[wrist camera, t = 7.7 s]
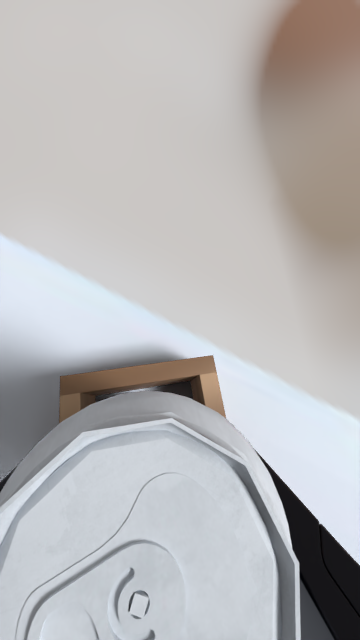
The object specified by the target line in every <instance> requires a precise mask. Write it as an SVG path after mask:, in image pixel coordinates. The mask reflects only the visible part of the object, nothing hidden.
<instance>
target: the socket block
mask: <svg viewBox="0 0 360 640" xmlns="http://www.w3.org/2000/svg"><path fill="white" fill-rule="evenodd" d="M188 381H190V383H191V389H192V395H193V400H195V401H197V402H199V403H201V404H203V405H205V406H207V407H209V408H211V409H212V410H214V411H216V412H218V413H219V414H221V415H222V416H223V417H225V418H226V415H225V411H224V406H223V401H222V396H221V391H220V387H219V382H218V377H217V372H216V367H215V363H214V358H213V355H212V356H204V357H197V358H190V359H183V360H175V361H168V362H161V363H154V364H146V365H139V366H132V367H125V368H117V369H110V370H103V371H96V372H88V373H81V374H74V375H67V376H60V410H59V424H60V423H61V422H62V421H64V420H65V419H67V418H69V417H70V416H72V415H74V414H75V413H77V412H79V411H80V410H82V409H84V408H86V407H87V406H89V405H91V404H93V403H96V399H95V396H97V395H103V394H110V393H116V392H123V391H129V390H136V389H142V388H149V387H155V386H162V385H168V384H175V383H181V382H188Z"/></svg>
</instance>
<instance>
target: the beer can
mask: <svg viewBox="0 0 360 640" xmlns="http://www.w3.org/2000/svg"><path fill="white" fill-rule="evenodd" d="M0 640H301V630H300V578H299V562H298V560H297V558H296V556H295V554H294V552H293V550H292V544H291V538H290V532H289V526H288V522H287V519H286V515H285V512H284V508H283V505H282V502H281V499H280V497H279V495H278V492H277V490H276V487H275V485H274V483H273V480H272V478H271V475H270V473H269V472H268V470H267V468H266V467H265V465H264V464H263V462H262V461H261V459H260V457H259V456H258V454H257V453H256V451H255V450H254V448H253V447H252V445H251V444H250V442H249V441H248V440H247V439H246V438H245V437H244V436H243V435H242V434H241V433H240V432H239V431H238V430H237V429H236V428H235V427H234V426H233V425H232V424H231V423H230V422H229V421H228V420H227V419H226V418H225V417H223V416H222V415H221V414H219V413H218V412H216V411H214V410H212V409H211V408H209V407H207V406H205V405H203V404H201V403H199V402H197V401H195V400H193V399H191V398H189V397H185V396H181V395H178V394H174V393H168V392H159V391H140V392H133V393H125V394H118V395H116V396H113V397H110V398H107V399H104V400H102V401H99V402H96V403H93V404H91V405H89V406H87V407H86V408H84V409H82V410H80V411H79V412H77V413H75V414H74V415H72V416H70V417H69V418H67V419H65V420H64V421H62V422H61V423H60V424H58V425H57V426H56V427H55V428H54V429H52V430H51V431H50V432H49V433H48V434H47V435H46V436H45V437H44V438H43V439H41V440H40V441H39V442H38V443H37V444H36V445H35V446H34V447H33V449H32V450H31V451H30V452H29V453H28V454H27V455H26V456H25V458H24V459H23V460H22V461H21V462H20V463H19V465H18V466H17V468H16V469H15V470H14V472H13V473H12V475H11V476H10V478H9V479H8V481H7V482H6V484H5V486H4V487H3V489H2V490H1V492H0Z"/></svg>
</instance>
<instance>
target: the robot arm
mask: <svg viewBox="0 0 360 640" xmlns="http://www.w3.org/2000/svg"><path fill="white" fill-rule="evenodd" d="M254 450H255V449H254ZM255 451H256V450H255ZM256 453H257V451H256ZM257 454H258V453H257ZM258 456H259V457H260V459H261V461H262V462H263V464H264V465H265V467H266V468H267V470H268V472H269V473H270V475H271V478H272V480H273V483H274V485H275V487H276V490H277V492H278V495H279V497H280V499H281V502H282V505H283V508H284V512H285V515H286V519H287V522H288V526H289V532H290V538H291V544H292V550H293V552H294V554H295V556H296V558H297V560H298V562H299V578H300V630H301V640H360V565H359V564H358V563H357V562H356V561H355V560H354V559H353V558H352V557H351V556H350V555H349V554H348V553H347V551H346V550H345V549H344V548H343V547H342V546H341V545H340V544H339V543H338V542H337V541H336V540H335V538H334V537H333V536H332V535H331V534H330V533H329V532H328V531H327V530H326V528H325V527H324V526H323V525H322V524H319V521H318V520H317V519H316V517H315V516H314V515H313V514H312V513H311V512H310V511H309V510H308V508H307V507H306V506H305V505H304V504H303V503H302V502H301V501H300V500H299V498H298V497H297V496H296V495H295V494H294V493H293V492H292V491H291V489H290V488H289V487H288V486H287V485H286V484H285V483H284V482H283V481H282V479H281V478H280V477H279V476H278V475H277V474H276V473H275V472H274V470H273V469H272V468H271V467H270V466H269V465H268V464H267V463H266V462H265V460H264V459H263V458H262V457H261V456H260V455H259V454H258ZM16 468H17V467H16ZM16 468H15V469H16ZM15 469H14V470H15ZM14 470H13V471H12V472H11V473H9V474H8V475H7V476H6V477H5V478H4V479H3V480H2V481H1V482H0V492H1V490H2V489H3V487H4V486H5V484H6V482H7V481H8V479H9V478H10V476H11V475H12V473H13V472H14Z"/></svg>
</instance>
